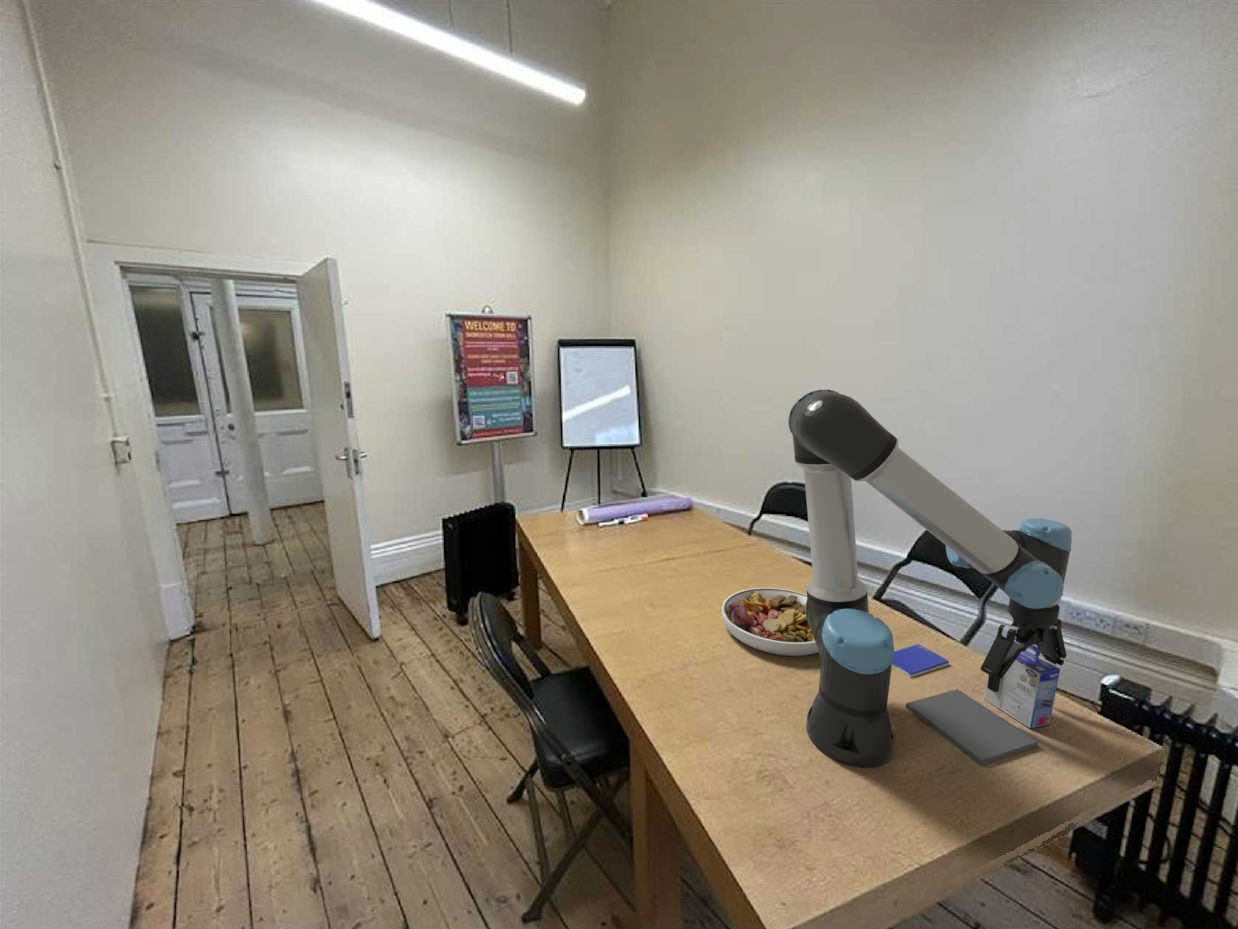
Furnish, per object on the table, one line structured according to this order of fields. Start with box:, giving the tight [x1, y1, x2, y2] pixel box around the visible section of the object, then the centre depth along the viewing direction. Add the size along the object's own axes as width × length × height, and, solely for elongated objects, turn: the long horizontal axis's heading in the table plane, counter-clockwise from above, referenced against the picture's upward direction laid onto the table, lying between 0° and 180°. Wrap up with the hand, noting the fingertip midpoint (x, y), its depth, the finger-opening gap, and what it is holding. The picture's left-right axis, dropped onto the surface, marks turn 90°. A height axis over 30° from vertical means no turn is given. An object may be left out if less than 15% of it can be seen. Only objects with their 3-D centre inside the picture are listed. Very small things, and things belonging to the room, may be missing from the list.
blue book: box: [892, 643, 950, 678], centre depth 121 cm, size 2×8×12 cm
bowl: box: [721, 587, 819, 657], centre depth 135 cm, size 30×30×8 cm
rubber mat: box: [905, 688, 1039, 766], centre depth 99 cm, size 14×16×1 cm
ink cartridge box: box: [983, 645, 1061, 729], centre depth 102 cm, size 10×6×14 cm, turn 16°
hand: (1018, 697), depth 103 cm, fingers open, 13 cm apart
